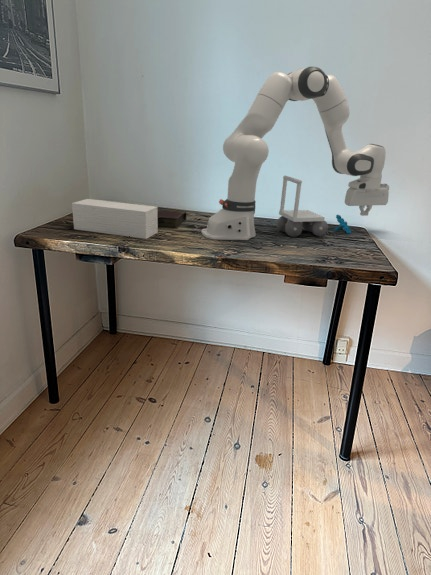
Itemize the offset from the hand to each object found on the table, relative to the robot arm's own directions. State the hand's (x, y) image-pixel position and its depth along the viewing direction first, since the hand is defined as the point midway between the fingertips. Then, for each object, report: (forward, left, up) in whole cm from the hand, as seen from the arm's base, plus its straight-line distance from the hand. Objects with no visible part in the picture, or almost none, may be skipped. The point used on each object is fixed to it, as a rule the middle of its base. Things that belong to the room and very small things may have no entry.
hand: (364, 215), depth 183 cm
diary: (-89, +27, -8) cm, 94 cm away
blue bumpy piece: (-10, 0, -8) cm, 12 cm away
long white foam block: (-107, +13, -8) cm, 108 cm away
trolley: (-31, 0, -7) cm, 32 cm away
